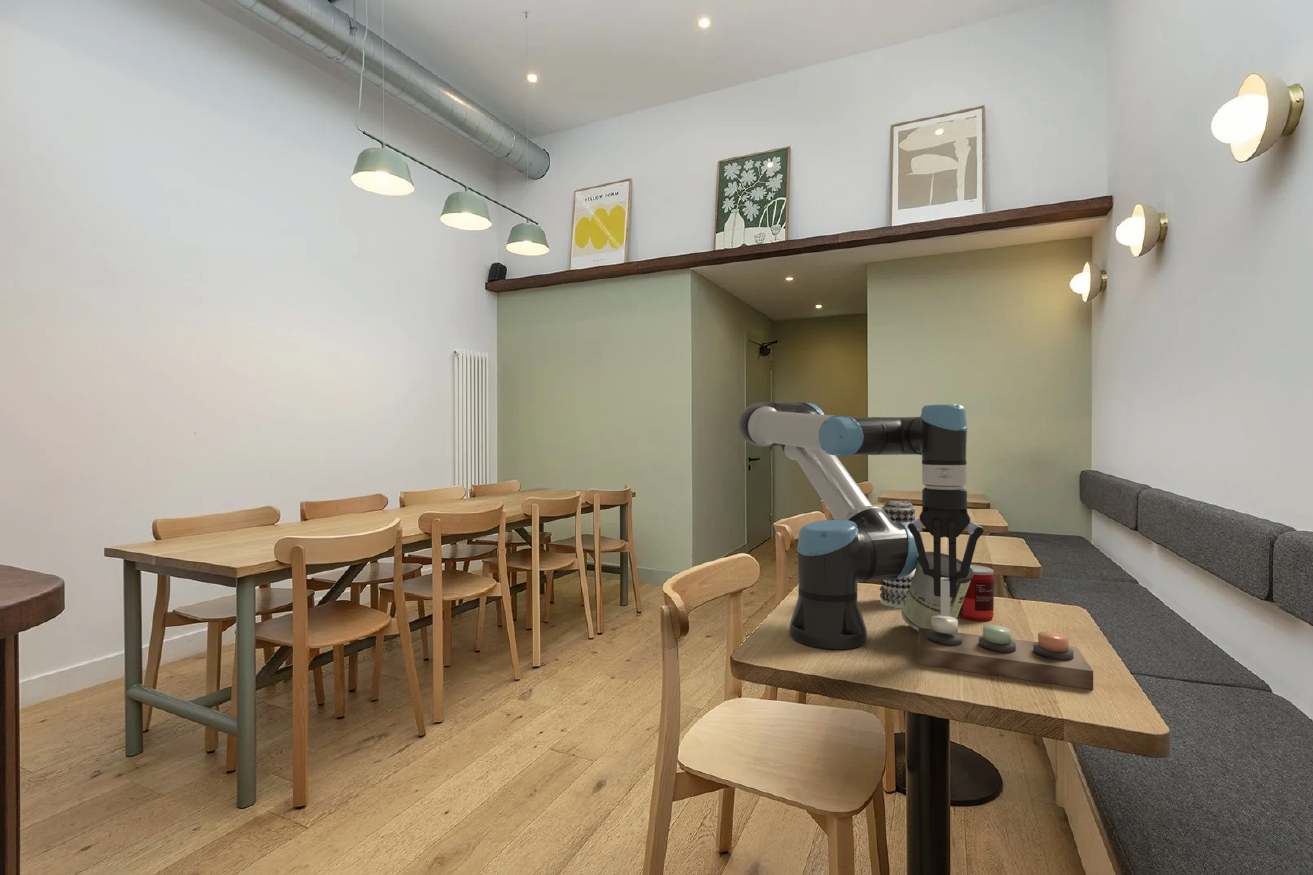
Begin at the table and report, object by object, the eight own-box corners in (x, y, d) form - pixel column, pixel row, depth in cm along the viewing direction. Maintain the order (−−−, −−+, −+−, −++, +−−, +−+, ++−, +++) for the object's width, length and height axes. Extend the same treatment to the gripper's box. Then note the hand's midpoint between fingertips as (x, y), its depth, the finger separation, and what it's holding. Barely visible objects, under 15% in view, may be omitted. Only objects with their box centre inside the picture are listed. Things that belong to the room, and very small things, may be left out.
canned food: (957, 609, 140) (956, 562, 140) (995, 615, 135) (995, 567, 135) (951, 617, 133) (951, 568, 133) (991, 623, 129) (991, 573, 129)
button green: (984, 642, 105) (984, 630, 105) (982, 634, 109) (982, 623, 109) (1012, 645, 103) (1012, 634, 103) (1009, 637, 107) (1009, 626, 107)
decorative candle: (908, 598, 149) (908, 499, 149) (926, 608, 140) (925, 503, 140) (872, 598, 149) (872, 499, 149) (888, 609, 140) (887, 504, 140)
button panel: (917, 663, 106) (917, 641, 106) (918, 642, 117) (918, 622, 117) (1093, 689, 95) (1093, 664, 95) (1076, 663, 106) (1076, 640, 106)
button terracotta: (1040, 649, 101) (1040, 638, 101) (1036, 641, 105) (1036, 630, 105) (1071, 653, 100) (1071, 641, 100) (1065, 645, 104) (1065, 633, 104)
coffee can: (901, 601, 131) (920, 545, 126) (951, 618, 127) (972, 562, 123) (899, 625, 122) (919, 566, 117) (952, 644, 118) (975, 584, 114)
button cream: (931, 631, 109) (931, 620, 109) (931, 624, 113) (931, 614, 113) (958, 634, 107) (958, 623, 107) (957, 627, 111) (957, 617, 111)
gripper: (905, 487, 109) (906, 615, 109) (985, 490, 104) (986, 624, 103) (906, 484, 116) (907, 604, 116) (982, 486, 110) (983, 612, 110)
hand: (945, 613), depth 110 cm, fingers closed
